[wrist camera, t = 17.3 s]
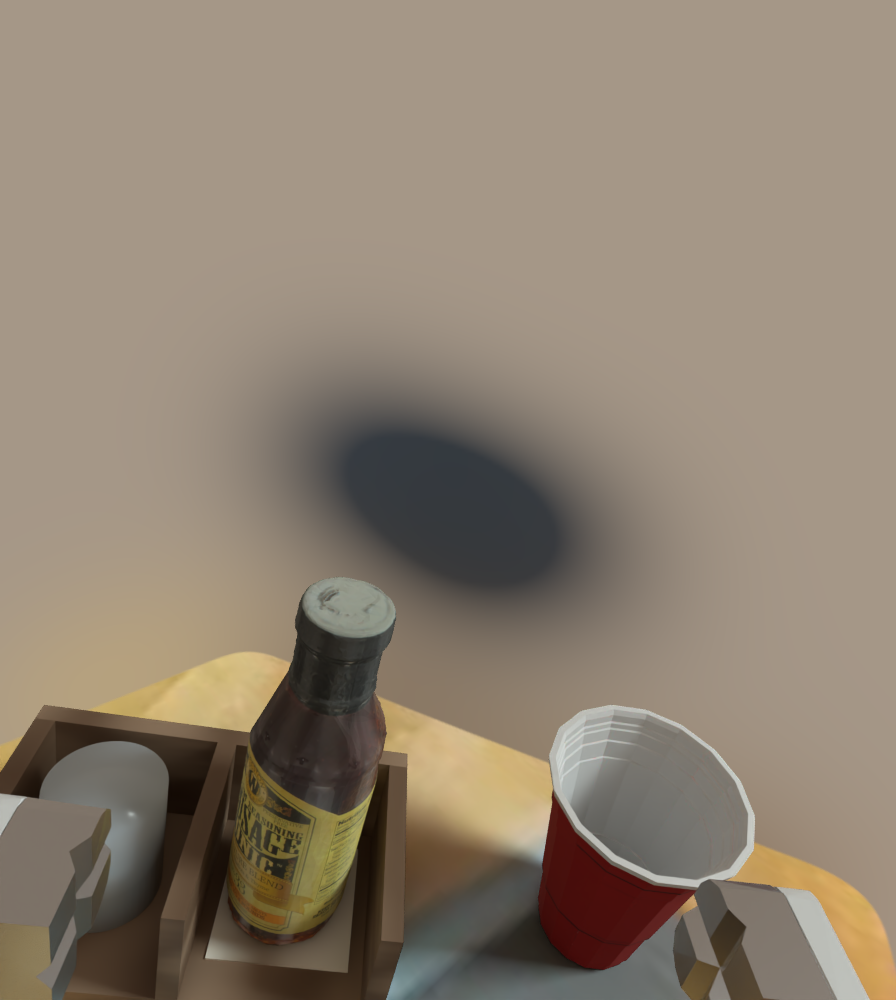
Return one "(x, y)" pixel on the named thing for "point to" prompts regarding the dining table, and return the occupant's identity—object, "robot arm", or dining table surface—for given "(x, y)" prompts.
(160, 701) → the dining table surface
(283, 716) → the sauce bottle
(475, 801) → the dining table surface
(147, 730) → the walnut rail
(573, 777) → the plastic cup
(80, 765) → the grey rounded cylinder
